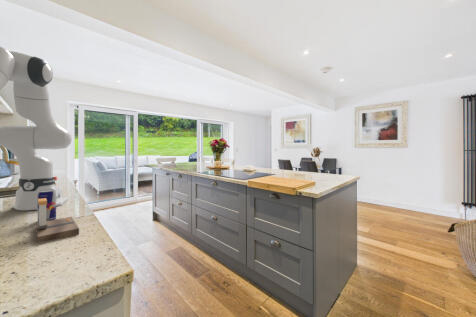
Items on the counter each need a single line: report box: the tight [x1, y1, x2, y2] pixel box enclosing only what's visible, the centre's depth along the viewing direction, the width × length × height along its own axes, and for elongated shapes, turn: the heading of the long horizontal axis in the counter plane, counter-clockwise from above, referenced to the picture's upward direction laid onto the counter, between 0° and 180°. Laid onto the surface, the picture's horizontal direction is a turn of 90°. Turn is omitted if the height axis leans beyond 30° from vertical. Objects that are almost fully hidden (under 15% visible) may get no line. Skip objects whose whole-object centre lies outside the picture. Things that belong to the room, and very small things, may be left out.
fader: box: [37, 198, 47, 229], centre depth 67 cm, size 2×5×9 cm, turn 47°
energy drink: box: [37, 189, 57, 223], centre depth 79 cm, size 5×5×12 cm
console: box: [35, 216, 80, 244], centre depth 70 cm, size 10×16×2 cm, turn 47°
